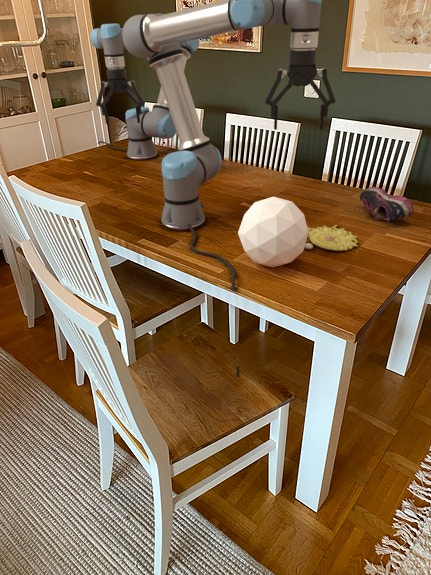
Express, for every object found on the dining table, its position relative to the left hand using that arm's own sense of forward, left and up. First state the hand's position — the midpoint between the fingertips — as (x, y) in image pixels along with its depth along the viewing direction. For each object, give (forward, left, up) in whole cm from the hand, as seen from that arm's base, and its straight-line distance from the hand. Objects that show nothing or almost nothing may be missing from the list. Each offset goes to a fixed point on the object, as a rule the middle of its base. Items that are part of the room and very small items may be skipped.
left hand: (123, 122), depth 190 cm
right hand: (+88, -4, +9) cm, 88 cm away
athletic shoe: (+109, +20, -23) cm, 113 cm away
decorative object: (+103, -6, -23) cm, 106 cm away
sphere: (+97, -29, -23) cm, 104 cm away
